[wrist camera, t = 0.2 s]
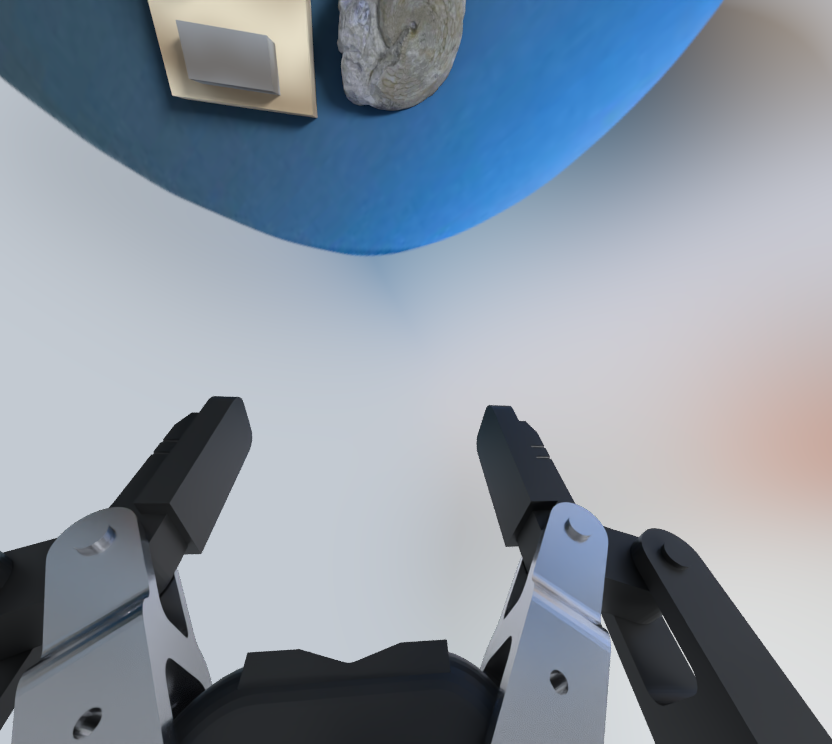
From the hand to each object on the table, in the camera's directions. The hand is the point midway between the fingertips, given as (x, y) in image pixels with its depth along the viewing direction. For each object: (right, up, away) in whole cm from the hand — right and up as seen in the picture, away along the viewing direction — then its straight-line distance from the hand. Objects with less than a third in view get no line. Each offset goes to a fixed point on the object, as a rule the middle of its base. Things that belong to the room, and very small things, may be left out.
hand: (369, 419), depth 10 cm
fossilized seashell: (0, +30, +15) cm, 34 cm away
